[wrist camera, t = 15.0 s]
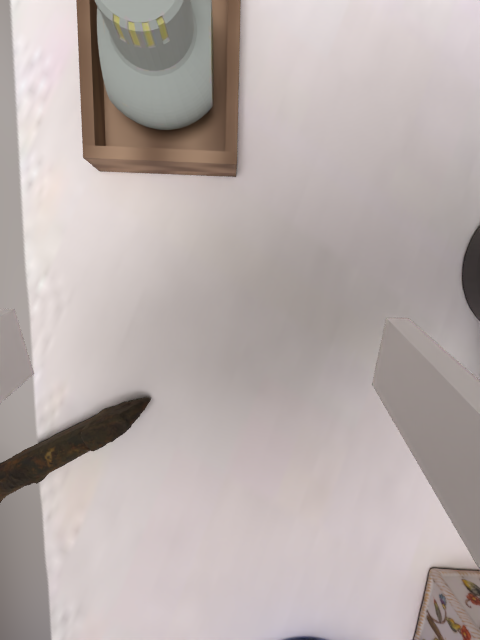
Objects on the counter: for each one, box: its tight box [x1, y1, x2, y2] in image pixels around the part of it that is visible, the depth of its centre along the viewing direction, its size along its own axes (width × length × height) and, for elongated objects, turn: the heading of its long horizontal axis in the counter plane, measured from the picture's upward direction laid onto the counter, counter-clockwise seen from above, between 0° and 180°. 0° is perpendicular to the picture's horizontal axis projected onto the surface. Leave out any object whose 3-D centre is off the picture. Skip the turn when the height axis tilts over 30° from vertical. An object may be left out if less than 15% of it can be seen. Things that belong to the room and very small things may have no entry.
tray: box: [77, 0, 240, 177], centre depth 28 cm, size 13×16×4 cm
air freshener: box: [95, 0, 213, 130], centre depth 23 cm, size 11×8×10 cm
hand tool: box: [0, 398, 151, 503], centre depth 32 cm, size 19×4×5 cm, turn 115°
